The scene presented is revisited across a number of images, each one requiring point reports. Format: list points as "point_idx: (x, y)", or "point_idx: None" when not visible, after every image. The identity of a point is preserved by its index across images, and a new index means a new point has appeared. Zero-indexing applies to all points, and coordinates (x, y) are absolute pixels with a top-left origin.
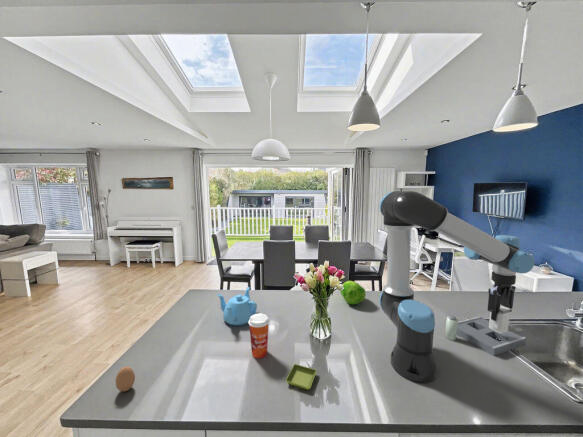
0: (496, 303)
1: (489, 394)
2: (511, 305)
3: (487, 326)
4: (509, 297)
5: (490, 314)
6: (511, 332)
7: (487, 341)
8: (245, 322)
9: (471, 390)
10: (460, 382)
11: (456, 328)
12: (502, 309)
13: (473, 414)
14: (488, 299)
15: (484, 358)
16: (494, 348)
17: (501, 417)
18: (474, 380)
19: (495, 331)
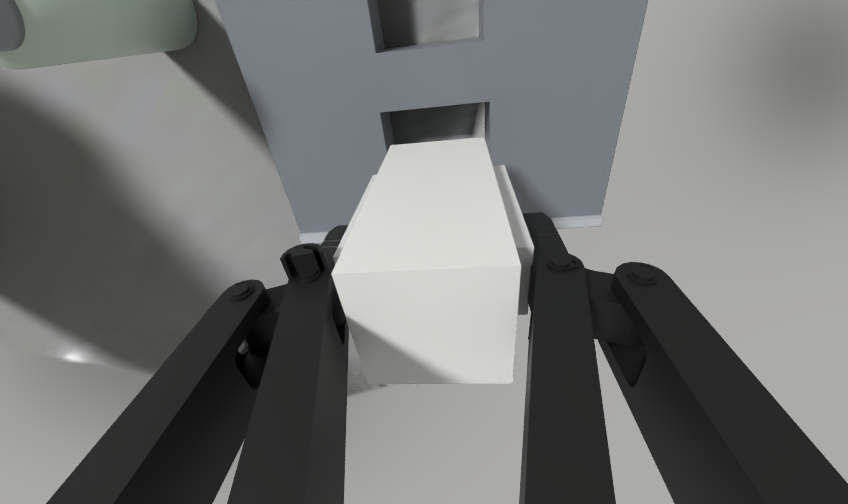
0: (220, 473)
1: (153, 328)
2: (626, 369)
3: (522, 21)
4: (700, 499)
5: (365, 205)
6: (602, 150)
7: (322, 185)
8: None
9: (102, 309)
10: (76, 282)
11: (105, 58)
12: (390, 369)
13: (73, 349)
14: (81, 462)
15: (257, 220)
16: (303, 241)
17: (143, 367)
18: (134, 287)
19: (499, 109)
